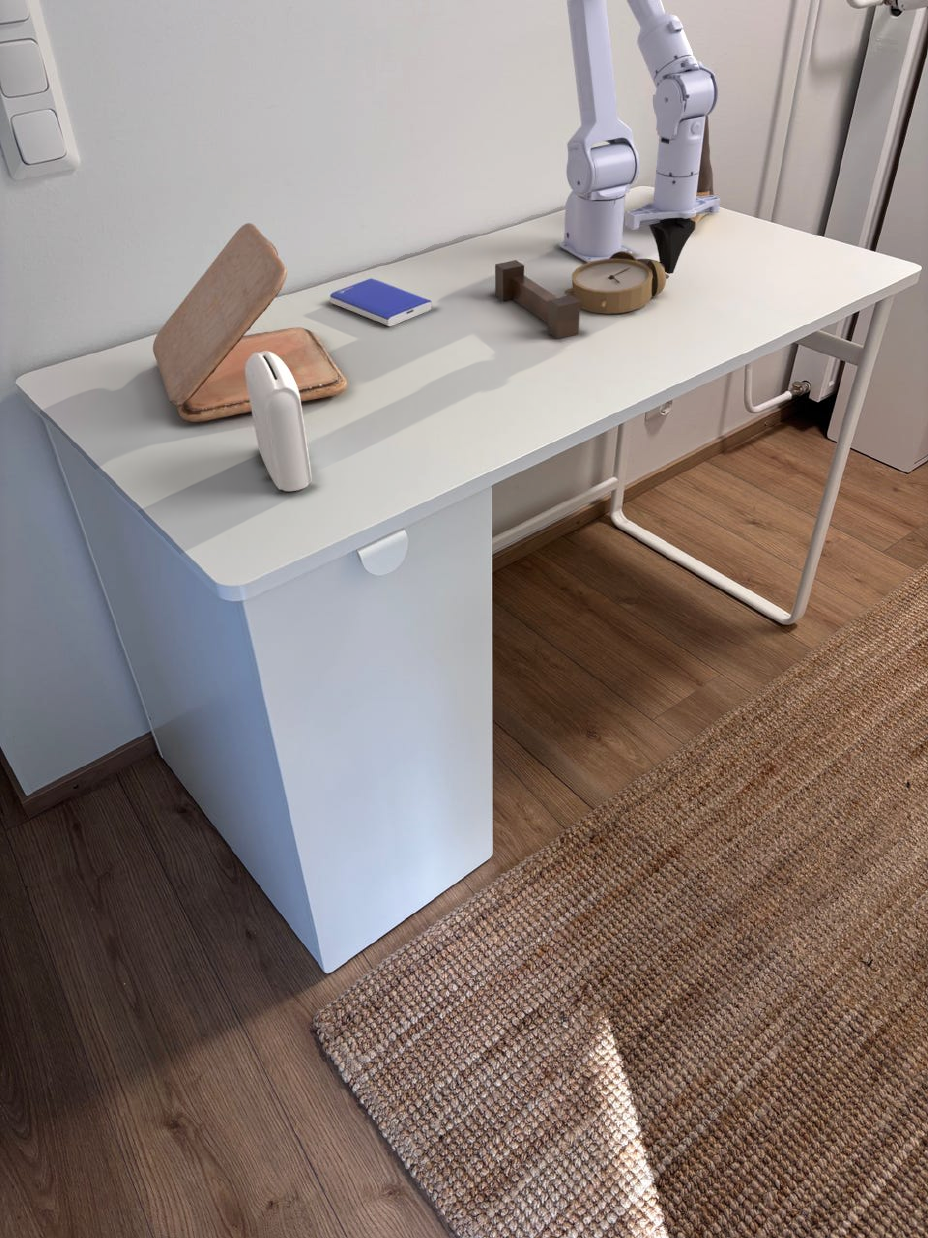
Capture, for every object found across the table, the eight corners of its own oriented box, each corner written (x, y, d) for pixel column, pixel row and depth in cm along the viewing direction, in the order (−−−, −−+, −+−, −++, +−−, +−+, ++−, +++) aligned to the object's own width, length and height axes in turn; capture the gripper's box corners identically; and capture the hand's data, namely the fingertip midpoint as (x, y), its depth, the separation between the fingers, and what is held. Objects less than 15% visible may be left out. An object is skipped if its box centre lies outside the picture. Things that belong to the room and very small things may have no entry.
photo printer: (255, 450, 108) (236, 344, 100) (293, 442, 109) (277, 337, 101) (277, 497, 101) (257, 386, 93) (317, 487, 102) (301, 377, 94)
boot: (714, 193, 174) (731, 66, 162) (713, 239, 156) (731, 100, 144) (664, 192, 176) (677, 65, 163) (657, 237, 158) (671, 99, 145)
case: (154, 360, 127) (124, 234, 116) (312, 333, 132) (296, 209, 122) (176, 431, 112) (143, 294, 102) (353, 397, 117) (339, 263, 107)
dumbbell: (495, 295, 141) (494, 263, 138) (516, 290, 142) (516, 259, 139) (556, 339, 129) (557, 305, 126) (579, 333, 130) (581, 300, 127)
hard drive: (329, 293, 139) (387, 316, 132) (372, 276, 143) (431, 298, 136) (330, 304, 140) (388, 327, 133) (373, 287, 144) (432, 309, 137)
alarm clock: (553, 278, 137) (626, 234, 143) (556, 310, 141) (628, 265, 146) (611, 300, 130) (686, 253, 136) (613, 333, 134) (686, 286, 139)
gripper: (650, 186, 127) (640, 289, 136) (739, 169, 132) (724, 270, 141) (619, 173, 132) (612, 273, 141) (707, 157, 137) (695, 255, 146)
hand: (666, 271), depth 141 cm, fingers closed
